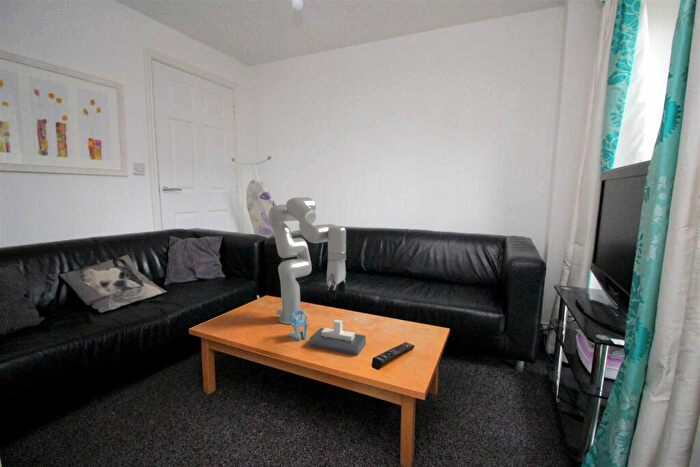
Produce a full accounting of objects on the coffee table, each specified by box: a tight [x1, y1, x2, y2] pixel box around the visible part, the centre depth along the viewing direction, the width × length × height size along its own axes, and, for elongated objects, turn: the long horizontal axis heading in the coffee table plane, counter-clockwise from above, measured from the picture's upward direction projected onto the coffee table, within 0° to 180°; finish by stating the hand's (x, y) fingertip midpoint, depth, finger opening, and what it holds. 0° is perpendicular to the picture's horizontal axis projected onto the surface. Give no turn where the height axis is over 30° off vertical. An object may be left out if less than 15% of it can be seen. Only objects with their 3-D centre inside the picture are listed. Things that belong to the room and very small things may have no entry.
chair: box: [287, 310, 309, 342], centre depth 147 cm, size 8×8×12 cm
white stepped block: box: [321, 319, 356, 342], centre depth 139 cm, size 14×4×10 cm, turn 69°
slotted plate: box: [309, 328, 367, 356], centre depth 139 cm, size 22×10×4 cm, turn 69°
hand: (337, 295), depth 136 cm, fingers open, 9 cm apart
